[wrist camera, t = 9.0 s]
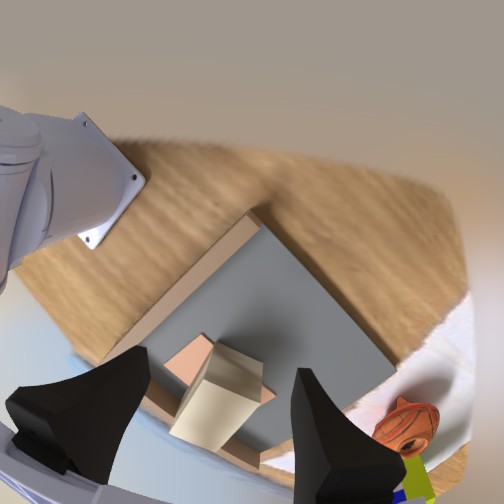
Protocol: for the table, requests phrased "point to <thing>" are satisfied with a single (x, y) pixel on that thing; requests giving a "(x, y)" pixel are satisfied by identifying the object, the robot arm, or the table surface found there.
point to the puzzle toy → (414, 483)
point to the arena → (254, 335)
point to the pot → (408, 428)
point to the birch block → (219, 398)
